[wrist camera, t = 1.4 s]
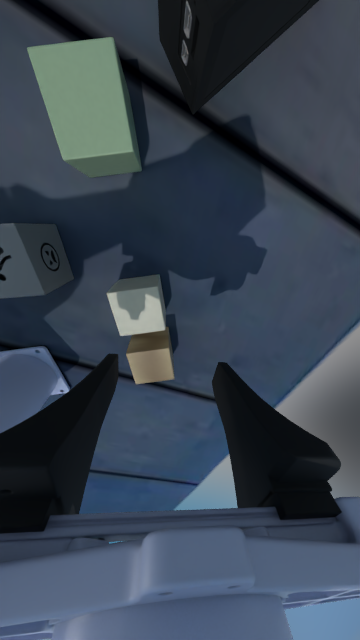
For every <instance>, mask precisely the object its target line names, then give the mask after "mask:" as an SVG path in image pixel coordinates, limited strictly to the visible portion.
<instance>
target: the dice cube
mask: <svg viewBox="0 0 360 640" xmlns="http://www.w3.org/2000/svg"><path fill="white" fill-rule="evenodd" d="M73 279H74V276H73V273H72V270H71V267H70V265H69V262H68V259H67V256H66V253H65V250H64V247H63V244H62V241H61V238H60V235H59V232H58V229H57V226H56V224H27V223H9V224H0V299H1V298H13V297H26V296H39V295H46V294H48V293H50V292H52V291H53V290H55V289H57V288H59V287H61V286H62V285H64V284H66V283H68V282H69V281H71V280H73Z"/></svg>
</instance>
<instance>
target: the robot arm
mask: <svg viewBox="0 0 360 640" xmlns="http://www.w3.org/2000/svg"><path fill="white" fill-rule="evenodd" d="M38 350H39V351H38ZM117 380H118V354H108V355H107V356H106V357H105V358H104V359H103V360H102V361H101V363H100V364H99V365H98V366H97V367H96V368H95V369H94V370H93V371H92V372H91V373H89V374H88V375H87V376H86V377H85V378H84V379H83V380H82V381H81V382H79V383H78V384H77V385H76V386H75V387H74V388H72V389H71V390H70V387H69V385H68V384H67V382H66V380H65V378H64V377H63V375H62V373H61V371H60V370H59V368H58V366H57V365H56V363H55V361H54V359H53V358H52V356H51V354H50V353H49V351H48V349H47V348H46V347H45V346H37V347H30V348H23V349H15V350H8V351H0V640H42V639H51V640H293V637H292V634H291V631H290V627H289V624H288V621H287V618H286V614H285V611H284V609H290V608H296V607H302V606H309V605H316V604H322V603H329V602H336V601H342V600H349V599H356V598H360V497H340V498H336V499H334V498H333V497H332V495H331V493H330V491H332V488H331V486H330V485H329V483H328V482H327V481H328V480H329V479H330V478H331V477H332V476H333V475H334V474H335V473H337V471H338V470H339V469H340V467H341V462H340V460H339V459H338V457H337V456H336V455H335V453H334V452H333V451H332V449H331V448H330V447H329V445H328V444H327V443H326V442H324V441H322V440H320V439H319V438H317V437H315V436H314V435H312V434H310V433H309V432H307V431H305V430H303V429H302V428H301V427H299V426H297V425H296V424H294V423H293V422H291V421H290V420H288V419H287V418H286V417H284V416H283V415H281V414H280V413H279V412H277V411H276V410H275V409H274V408H272V407H271V406H270V405H269V404H267V403H266V402H265V401H264V400H263V399H261V398H260V397H259V396H258V395H257V394H256V393H255V392H254V391H253V390H252V389H251V388H250V387H249V386H248V385H247V384H246V383H245V382H244V381H243V380H242V379H241V378H240V377H239V376H238V375H237V374H236V373H235V371H234V370H233V369H232V368H231V367H230V366H229V365H228V364H227V363H225V362H218V365H217V368H216V371H215V374H214V377H213V380H212V386H213V392H214V396H215V400H216V403H217V406H218V410H219V413H220V416H221V419H222V423H223V426H224V430H225V434H226V439H227V443H228V448H229V454H230V459H231V464H232V471H233V477H234V483H235V490H236V497H237V505H238V508H231V509H204V510H179V511H178V510H177V511H151V512H124V513H98V514H79V511H80V507H81V502H82V498H83V494H84V490H85V486H86V482H87V478H88V474H89V470H90V466H91V462H92V458H93V455H94V451H95V447H96V444H97V440H98V436H99V433H100V429H101V426H102V423H103V421H104V418H105V415H106V413H107V410H108V408H109V405H110V402H111V400H112V397H113V394H114V392H115V388H116V384H117ZM62 393H66V394H65V395H63V396H62V397H61V398H59V399H58V400H56V401H55V402H53V403H52V404H50V405H49V406H47V407H46V408H44V409H43V410H41V411H40V412H39V410H40V409H41V407H42V406H43V404H44V403H45V401H46V400H47V399H48V397H49V396H50V395H54V394H62ZM114 541H123V542H118V543H112V544H109V542H114Z"/></svg>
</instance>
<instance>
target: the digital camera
mask: <svg viewBox="0 0 360 640" xmlns="http://www.w3.org/2000/svg"><path fill="white" fill-rule="evenodd" d="M318 1H319V0H158V10H159V35H160V42H161V44H162V46H163V48H164V50H165V53H166V55H167V57H168V60H169V62H170V64H171V66H172V69H173V71H174V73H175V76H176V78H177V80H178V82H179V85H180V87H181V89H182V92H183V94H184V96H185V98H186V101H187V103H188V105H189V108H190V110H191V112H192V114H194V113H195V112H196V111H198V110H199V109H200V108H201V107H202V106H203V105H204V104H205V103H206V102H207V101H209V100H210V99H211V98H212V97H213V96H214V95H215V94H216V93H217V92H218V91H220V90H221V89H222V88H223V87H224V86H225V85H226V84H227V83H228V82H229V81H231V80H232V79H233V78H234V77H235V76H236V75H237V74H238V73H239V72H240V71H242V70H243V69H244V68H245V67H246V66H247V65H248V64H249V63H250V62H251V61H253V60H254V59H255V58H256V57H257V56H258V55H259V54H260V53H261V52H262V51H264V50H265V49H266V48H267V47H268V46H269V45H270V44H271V43H272V42H274V41H275V40H276V39H277V38H278V37H279V36H280V35H281V34H282V33H283V32H285V31H286V30H287V29H288V28H289V27H290V26H291V25H292V24H293V23H294V22H296V21H297V20H298V19H299V18H300V17H301V16H302V15H303V14H304V13H305V12H307V11H308V10H309V9H310V8H311V7H312V6H313V5H314V4H315V3H316V2H318Z"/></svg>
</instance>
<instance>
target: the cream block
mask: <svg viewBox="0 0 360 640" xmlns="http://www.w3.org/2000/svg"><path fill="white" fill-rule="evenodd" d="M107 296H108V300H109V303H110V306H111V309H112V312H113V315H114V318H115V321H116V324H117V327H118V330H119V333H120V336H126V335H134V334H141V333H149V332H156V331H163V330H166V309H165V303H164V298H163V292H162V286H161V280H160V275H159V274H158V275H150V276H143V277H135V278H127V279H120V280H118V281H117V282H116V283H115V284H114V286H113V287H112V288H111V289H110V290H109V291H108V292H107Z"/></svg>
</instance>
